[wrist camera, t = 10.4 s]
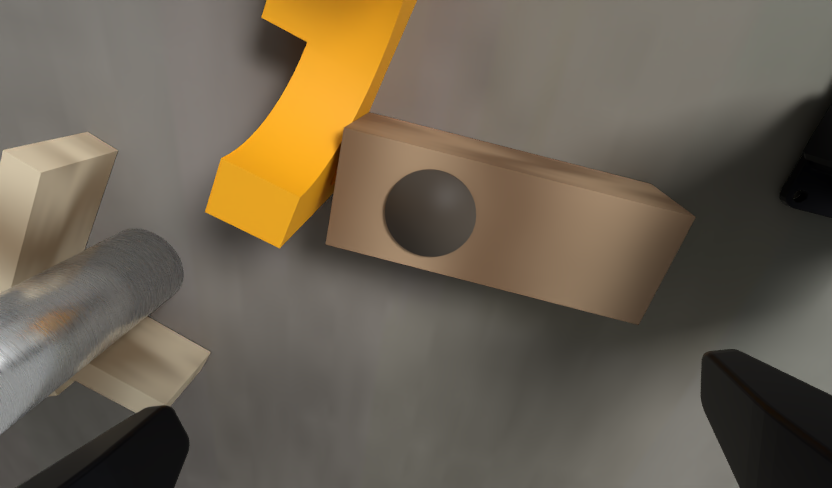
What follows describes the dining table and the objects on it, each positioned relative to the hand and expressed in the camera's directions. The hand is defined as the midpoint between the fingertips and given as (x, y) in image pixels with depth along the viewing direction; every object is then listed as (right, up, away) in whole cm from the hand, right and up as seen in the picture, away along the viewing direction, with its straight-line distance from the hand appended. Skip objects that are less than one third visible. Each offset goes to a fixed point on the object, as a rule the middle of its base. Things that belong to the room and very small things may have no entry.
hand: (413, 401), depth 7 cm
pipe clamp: (-3, +11, +10) cm, 15 cm away
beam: (+3, +5, +12) cm, 13 cm away
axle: (-14, +2, +15) cm, 21 cm away
